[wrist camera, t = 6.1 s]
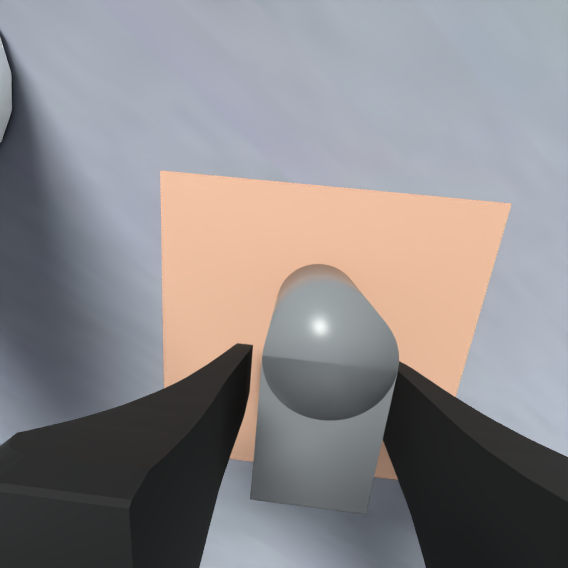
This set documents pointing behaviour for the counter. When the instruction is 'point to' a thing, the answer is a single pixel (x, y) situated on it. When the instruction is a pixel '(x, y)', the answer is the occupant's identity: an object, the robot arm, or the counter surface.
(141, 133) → the counter surface
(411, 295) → the plate
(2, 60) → the bottle
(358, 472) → the plug
